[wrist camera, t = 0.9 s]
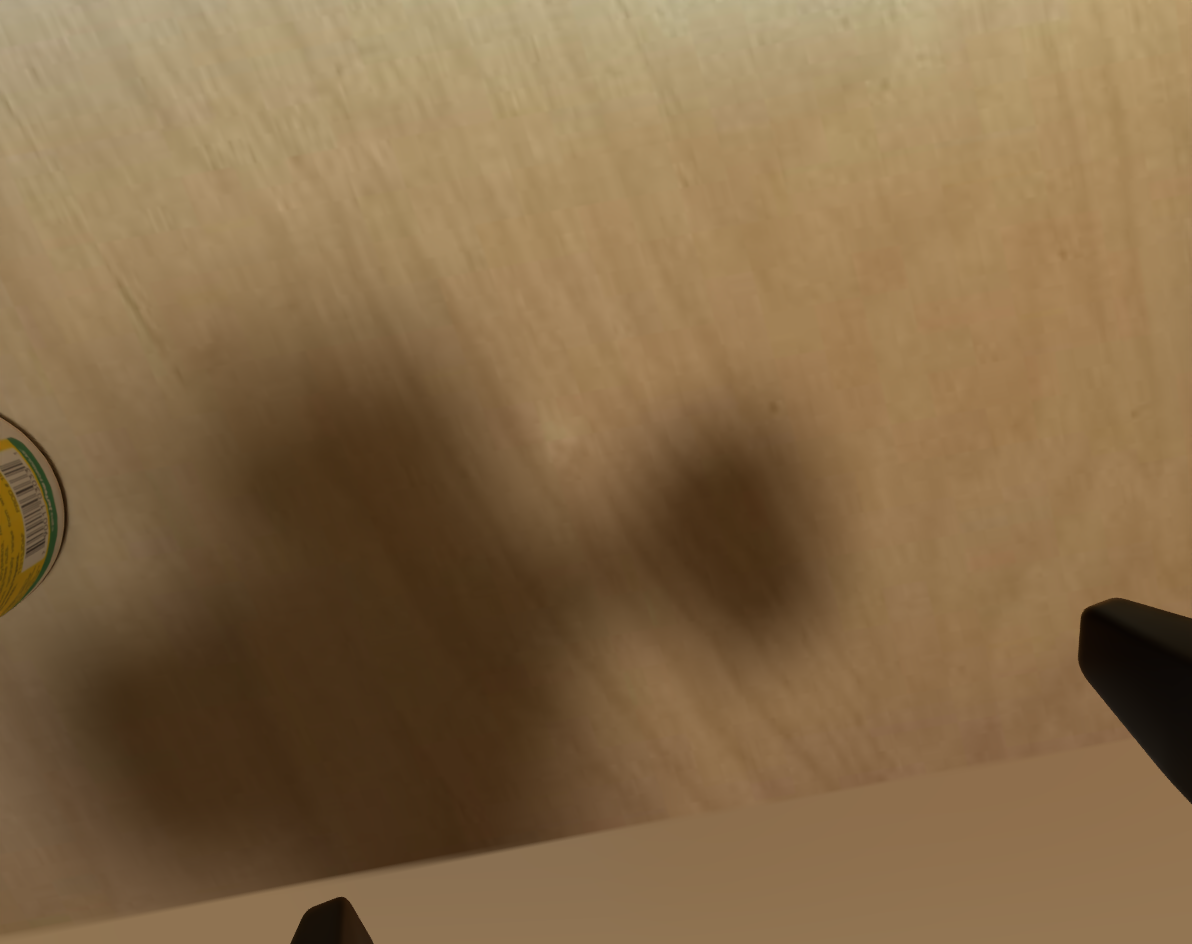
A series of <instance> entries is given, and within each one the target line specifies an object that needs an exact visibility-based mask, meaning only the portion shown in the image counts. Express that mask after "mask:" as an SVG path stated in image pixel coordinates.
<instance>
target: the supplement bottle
mask: <svg viewBox="0 0 1192 944" xmlns="http://www.w3.org/2000/svg"><path fill="white" fill-rule="evenodd" d="M63 531H64V505H63V499H62V494H61V490H60V487H59V484H58V482H57V479H56V477H55V475H54V473H53V470H52V468H51V467H50V465H49V463H48V462H47V460H46V458H45V457H44V455H43V454H42V453H41V452H40V451H39V449H38V448H37V447H36V446H35V445H34V444H33V443H32V442H31V441H30V440H29V439H28V438H27V437H26V436H25V435H24V434H23V433H22V432H21V431H19V430H18V429H17V428H15V427H14V426H13V425H11V424H10V423H9V422H7V421H5V420H4V419H2V418H1V417H0V617H1V616H3V615H4V614H6V613H7V612H8V611H10V610H11V609H12V608H14V607H15V606H16V605H17V604H18V603H20V602H21V601H22V600H24V599H25V598H26V597H27V596H28V595H29V594H31V593H32V592H33V591H34V590H35V589H36V588H37V586H38V585H39V584H40V583H41V582H42V580H43V579H44V578H45V576H46V575H47V573H48V572H49V570H50V569H51V567H52V565H53V563H54V562H55V560H56V557H57V555H58V552H59V549H60V546H61V542H62V537H63Z"/></svg>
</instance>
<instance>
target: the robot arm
mask: <svg viewBox="0 0 1192 944" xmlns="http://www.w3.org/2000/svg"><path fill="white" fill-rule="evenodd" d="M1078 661H1079V665H1080V668H1081V671H1082V673H1083V674H1084V676H1085V678H1086V679H1087V680H1088V682H1089V683H1090V684H1091V685H1092V687H1093V688H1094V689H1095V690H1096V692H1097V693H1098V694H1099V695H1100V696H1101V698H1102V699H1103V700H1104V701H1105V703H1106V704H1107V705H1108V706H1109V707H1110V709H1111V710H1112V711H1113V712H1114V714H1115V715H1116V716H1117V717H1118V719H1119V720H1120V721H1121V722H1122V723H1123V725H1124V726H1125V727H1126V728H1127V730H1128V731H1129V732H1130V733H1131V734H1132V736H1133V737H1134V738H1135V739H1136V740H1137V742H1138V743H1139V744H1140V745H1141V747H1142V748H1143V749H1144V750H1145V752H1146V753H1147V754H1148V755H1149V756H1150V758H1151V759H1152V760H1153V761H1154V763H1155V764H1156V765H1157V766H1158V767H1159V768H1160V770H1161V771H1162V772H1163V773H1164V774H1165V776H1166V777H1167V778H1168V779H1169V780H1170V781H1171V782H1172V784H1173V785H1174V786H1175V787H1176V788H1177V789H1178V790H1179V791H1180V792H1181V793H1182V794H1183V795H1184V796H1185V797H1186V798H1187V799H1188V801H1189V802H1191V804H1192V618H1188V617H1185V616H1181V615H1178V614H1174V613H1171V612H1167V611H1164V610H1161V609H1157V608H1154V607H1150V606H1147V605H1143V604H1140V603H1137V602H1133V601H1130V600H1126V599H1122V598H1111V599H1108V600H1105V601H1102V602H1100V603H1097V604H1095V605H1092V606H1090V607H1088V608H1086V609H1085V610H1084V611H1083V613H1082V615H1081V622H1080V636H1079V650H1078ZM291 944H373V942H372V940H371V937H370V936H369V934H368V932H367V931H366V929H365V927H364V925H363V924H362V922H361V920H360V919H359V917H358V915H357V913H356V912H355V910H354V908H353V907H352V905H351V904H350V902H349V901H348V900H347V899H346V898H344V897H338V898H335V899H332V900H330V901H327V902H325V903H322V904H319V905H317V906H314V907H312V908H310V909H309V910H308V911H307V912H306V913H305V914H304V915H303V917H302V919H301V921H300V924H299V926H298V928H297V930H296V932H295V935H294V937H293V939H292V941H291Z"/></svg>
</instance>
